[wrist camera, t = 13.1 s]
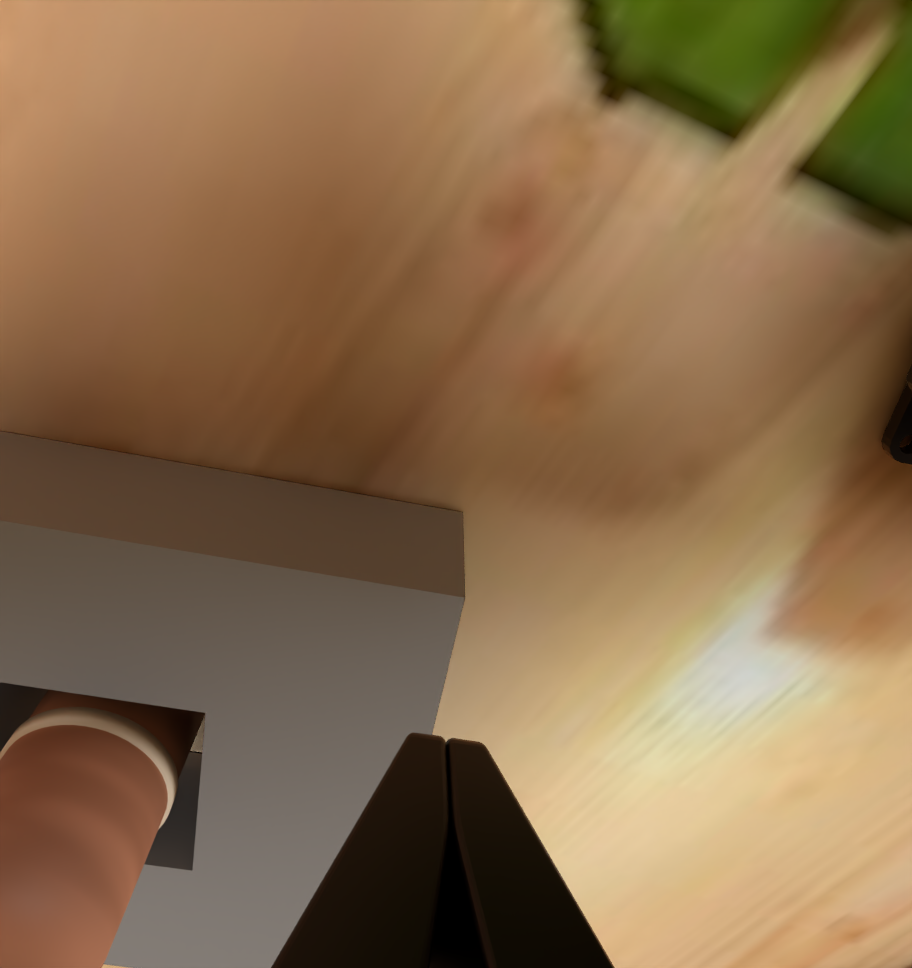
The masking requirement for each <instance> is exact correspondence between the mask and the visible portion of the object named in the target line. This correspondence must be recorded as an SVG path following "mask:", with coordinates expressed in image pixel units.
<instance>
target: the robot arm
mask: <svg viewBox="0 0 912 968" xmlns="http://www.w3.org/2000/svg"><path fill="white" fill-rule="evenodd" d="M906 380H907V384H906V387H905V389H904V391H903V393H902V395H901V397H900V400H899V402H898V404H897V406H896V408H895V410H894V413H893V415H892V417H891V419H890V421H889V423H888V426H887V428H886V430H885V432H884V434H883V438H882V446H883V449H884V450H885V451H886V452H887V454H889V455H890V456H891V457H892V458H894V459H895V460H897V461H899V462H902V463H907V464H912V441H911V442H910V443H909V444H908V445H906V446H904V447H900V443H901V441H902V440H903V439H904V438H905V437H906V436H908V435H912V365H911V368H910V370H909V372H908V374H907V377H906ZM271 968H614V966H613V964H612V962H611V961H610V959H609V957H608V956H607V954H606V952H605V950H604V949H603V947H602V945H601V943H600V942H599V940H598V938H597V937H596V935H595V933H594V931H593V930H592V928H591V926H590V925H589V923H588V921H587V919H586V918H585V916H584V914H583V913H582V911H581V909H580V907H579V906H578V904H577V902H576V900H575V899H574V897H573V895H572V894H571V892H570V890H569V888H568V887H567V885H566V883H565V882H564V880H563V878H562V876H561V875H560V873H559V871H558V870H557V868H556V866H555V864H554V863H553V861H552V859H551V857H550V856H549V854H548V852H547V851H546V849H545V847H544V845H543V844H542V842H541V840H540V839H539V837H538V835H537V833H536V832H535V830H534V828H533V827H532V825H531V823H530V821H529V820H528V818H527V816H526V814H525V813H524V811H523V809H522V808H521V806H520V804H519V802H518V801H517V799H516V797H515V796H514V794H513V792H512V790H511V789H510V787H509V785H508V784H507V782H506V780H505V778H504V777H503V775H502V773H501V772H500V770H499V768H498V766H497V765H496V763H495V761H494V759H493V758H492V756H491V754H490V753H489V751H488V749H487V748H486V746H485V745H484V744H482V743H480V742H476V741H469V740H462V739H456V738H451V739H449V740H448V741H447V742H445V740H444V738H443V737H441V736H436V735H429V734H422V733H416V732H412V733H410V734H409V735H408V736H407V737H406V738H405V740H404V742H403V744H402V745H401V747H400V749H399V750H398V752H397V754H396V755H395V757H394V759H393V761H392V762H391V764H390V766H389V767H388V769H387V771H386V772H385V774H384V776H383V778H382V779H381V781H380V783H379V784H378V786H377V788H376V790H375V791H374V793H373V795H372V796H371V798H370V800H369V801H368V803H367V805H366V807H365V808H364V810H363V812H362V813H361V815H360V817H359V818H358V820H357V822H356V824H355V825H354V827H353V829H352V830H351V832H350V834H349V836H348V837H347V839H346V841H345V842H344V844H343V846H342V847H341V849H340V851H339V853H338V854H337V856H336V858H335V859H334V861H333V863H332V864H331V866H330V868H329V870H328V871H327V873H326V875H325V876H324V878H323V880H322V881H321V883H320V885H319V887H318V888H317V890H316V892H315V893H314V895H313V897H312V899H311V900H310V902H309V904H308V905H307V907H306V909H305V910H304V912H303V914H302V916H301V917H300V919H299V921H298V922H297V924H296V926H295V927H294V929H293V931H292V933H291V934H290V936H289V938H288V939H287V941H286V943H285V945H284V946H283V948H282V950H281V951H280V953H279V955H278V956H277V958H276V960H275V962H274V963H273V965H272V967H271Z"/></svg>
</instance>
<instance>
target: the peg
mask: <svg viewBox="0 0 912 968" xmlns="http://www.w3.org/2000/svg"><path fill="white" fill-rule="evenodd" d="M204 715H205V713H203V712H196V711H190V710H183V709H176V708H170V707H163V706H156V705H149V704H143V703H136V702H129V701H123V700H116V699H109V698H103V697H96V696H89V695H82V694H76V693H69V692H62V691H56V690H48V691H47V693H46V694H45V695H44V697H43V698H42V700H41V701H40V703H39V704H38V706H37V707H36V709H35V710H34V712H33V713H32V714H31V716H30V717H29V719H28V720H27V721H25V722H24V723H22V724H21V725H20V726H19V727H18V728H17V729H16V730H15V732H14V733H13V735H12V736H11V738H10V739H9V740H8V742H7V743H6V745H5V746H4V748H3V749H2V751H1V752H0V968H101V967H102V966H103V964H104V962H105V960H106V958H107V955H108V953H109V950H110V948H111V945H112V943H113V940H114V938H115V935H116V933H117V930H118V928H119V925H120V923H121V920H122V918H123V916H124V913H125V911H126V908H127V906H128V903H129V901H130V898H131V896H132V893H133V891H134V888H135V886H136V883H137V881H138V878H139V876H140V873H141V871H142V868H143V866H144V863H145V861H146V858H147V856H148V854H149V851H150V849H151V846H152V844H153V841H154V839H155V836H156V834H157V831H158V830H159V828H160V827H161V826H162V825H163V824H164V822H165V820H166V819H167V817H168V815H169V812H170V810H171V807H172V805H173V802H174V800H175V797H176V794H177V790H178V779H179V777H180V774H181V772H182V769H183V767H184V764H185V762H186V759H187V757H188V754H189V752H190V749H191V747H192V744H193V742H194V739H195V737H196V735H197V732H198V730H199V727H200V725H201V722H202V720H203V717H204Z"/></svg>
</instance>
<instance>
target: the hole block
mask: <svg viewBox="0 0 912 968" xmlns="http://www.w3.org/2000/svg"><path fill="white" fill-rule="evenodd" d="M464 600H465V574H464V532H463V512H459V511H453V510H447V509H442V508H436V507H430V506H425V505H419V504H413V503H407V502H402V501H396V500H390V499H385V498H379V497H373V496H368V495H362V494H356V493H350V492H345V491H339V490H333V489H328V488H322V487H316V486H311V485H305V484H299V483H294V482H288V481H282V480H276V479H271V478H265V477H259V476H254V475H248V474H242V473H237V472H231V471H225V470H219V469H214V468H208V467H202V466H197V465H191V464H185V463H180V462H174V461H168V460H162V459H157V458H151V457H145V456H140V455H134V454H128V453H123V452H117V451H111V450H106V449H100V448H94V447H88V446H83V445H77V444H71V443H66V442H60V441H54V440H49V439H43V438H37V437H31V436H26V435H20V434H14V433H9V432H3V431H0V752H1V751H2V749H3V748H4V746H5V745H6V743H7V742H8V740H9V739H10V738H11V736H12V735H13V733H14V732H15V730H16V729H17V728H18V727H19V726H20V725H21V724H22V723H24V722H25V721H27V720H28V719H29V717H30V716H31V714H32V713H33V712H34V710H35V709H36V707H37V706H38V704H39V703H40V701H41V700H42V698H43V697H44V695H45V694H46V693H47V691H48V690H56V691H62V692H69V693H76V694H82V695H89V696H96V697H103V698H109V699H116V700H123V701H129V702H136V703H143V704H149V705H156V706H163V707H170V708H176V709H183V710H190V711H196V712H203V713H206V715H205V727H204V739H203V751H202V754H200V753H193V752H189V754H188V757H187V759H186V762H185V764H184V767H183V769H182V772H181V774H180V777H179V779H178V790H177V794H176V797H175V800H174V802H173V805H172V807H171V810H170V812H169V815H168V817H167V819H166V820H165V822H164V824H163V825H162V826H161V827H160V828H159V830H158V831H157V834H156V836H155V839H154V841H153V844H152V846H151V849H150V851H149V854H148V856H147V858H146V861H145V863H144V866H143V868H142V871H141V873H140V876H139V878H138V881H137V883H136V886H135V888H134V891H133V893H132V896H131V898H130V901H129V903H128V906H127V908H126V911H125V913H124V916H123V918H122V920H121V923H120V925H119V928H118V930H117V933H116V935H115V938H114V940H113V943H112V945H111V948H110V950H109V953H108V955H107V958H106V960H105V962H104V964H106V965H114V966H123V967H131V968H271V967H272V965H273V963H274V962H275V960H276V958H277V956H278V955H279V953H280V951H281V950H282V948H283V946H284V945H285V943H286V941H287V939H288V938H289V936H290V934H291V933H292V931H293V929H294V927H295V926H296V924H297V922H298V921H299V919H300V917H301V916H302V914H303V912H304V910H305V909H306V907H307V905H308V904H309V902H310V900H311V899H312V897H313V895H314V893H315V892H316V890H317V888H318V887H319V885H320V883H321V881H322V880H323V878H324V876H325V875H326V873H327V871H328V870H329V868H330V866H331V864H332V863H333V861H334V859H335V858H336V856H337V854H338V853H339V851H340V849H341V847H342V846H343V844H344V842H345V841H346V839H347V837H348V836H349V834H350V832H351V830H352V829H353V827H354V825H355V824H356V822H357V820H358V818H359V817H360V815H361V813H362V812H363V810H364V808H365V807H366V805H367V803H368V801H369V800H370V798H371V796H372V795H373V793H374V791H375V790H376V788H377V786H378V784H379V783H380V781H381V779H382V778H383V776H384V774H385V772H386V771H387V769H388V767H389V766H390V764H391V762H392V761H393V759H394V757H395V755H396V754H397V752H398V750H399V749H400V747H401V745H402V744H403V742H404V740H405V738H406V737H407V736H408V735H409V734H410V733H412V732H416V733H422V734H429V735H432V732H433V728H434V724H435V720H436V715H437V711H438V707H439V703H440V699H441V695H442V691H443V687H444V683H445V678H446V674H447V670H448V666H449V662H450V658H451V654H452V650H453V645H454V641H455V637H456V633H457V629H458V625H459V621H460V617H461V612H462V608H463V604H464Z"/></svg>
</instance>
